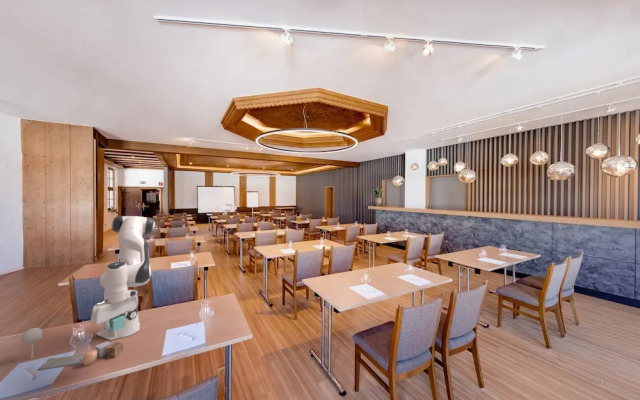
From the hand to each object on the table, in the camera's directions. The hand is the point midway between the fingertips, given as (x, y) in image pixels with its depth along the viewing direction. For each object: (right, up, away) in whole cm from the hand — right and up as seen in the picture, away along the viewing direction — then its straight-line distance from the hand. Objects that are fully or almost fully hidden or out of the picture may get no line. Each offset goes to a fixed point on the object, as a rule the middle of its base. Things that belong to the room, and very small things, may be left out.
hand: (115, 324), depth 121 cm
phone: (-29, -22, +4) cm, 37 cm away
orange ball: (-16, -21, +4) cm, 27 cm away
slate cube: (-15, -21, +11) cm, 28 cm away
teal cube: (0, -2, 0) cm, 2 cm away
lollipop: (-49, -21, +7) cm, 54 cm away
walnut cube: (-9, -21, +10) cm, 25 cm away
